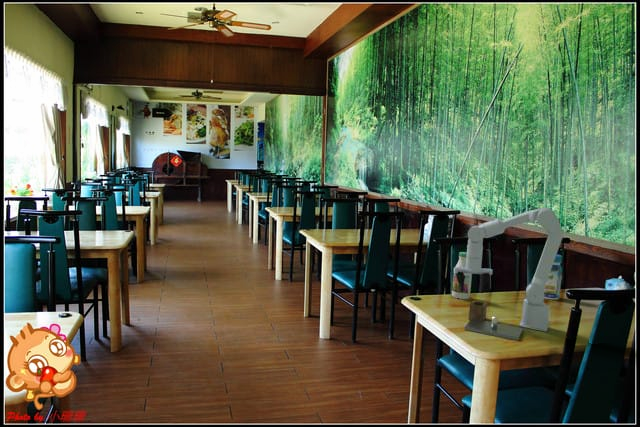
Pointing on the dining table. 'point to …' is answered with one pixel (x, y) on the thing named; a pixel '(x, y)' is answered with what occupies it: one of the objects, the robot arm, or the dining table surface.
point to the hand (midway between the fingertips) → (471, 292)
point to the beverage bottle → (554, 280)
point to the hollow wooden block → (477, 310)
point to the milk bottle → (467, 281)
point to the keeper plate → (494, 328)
